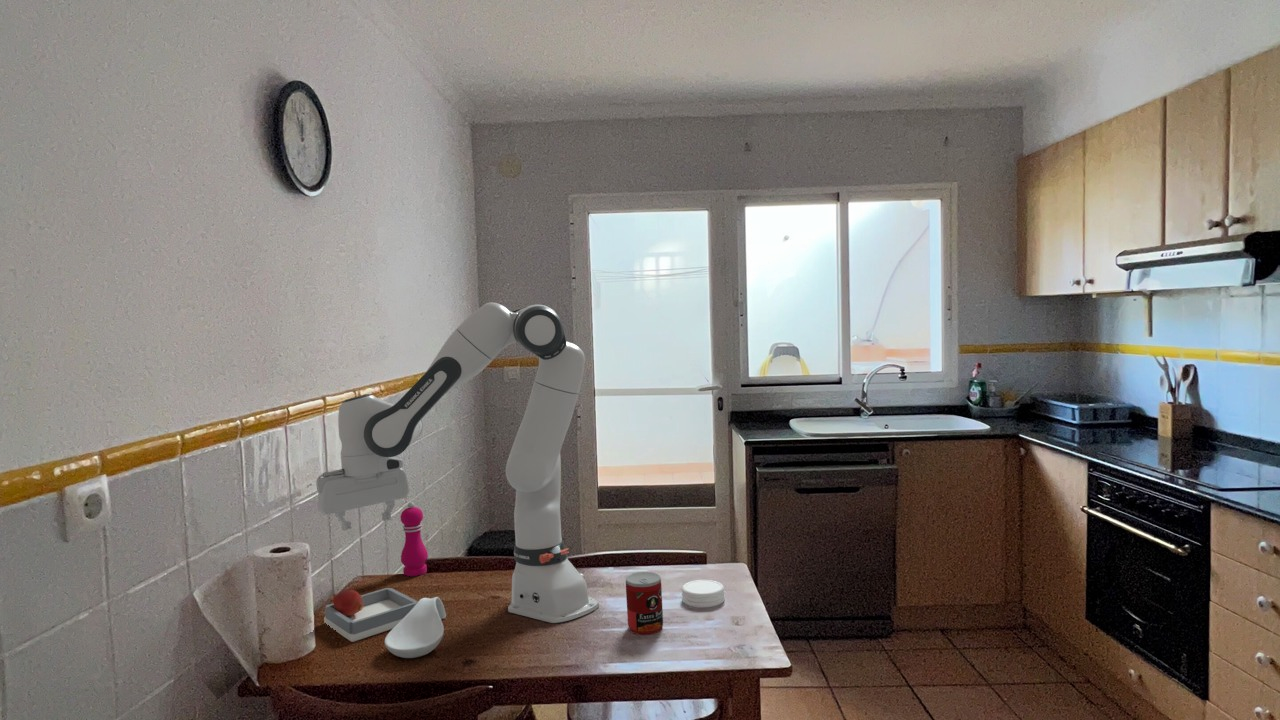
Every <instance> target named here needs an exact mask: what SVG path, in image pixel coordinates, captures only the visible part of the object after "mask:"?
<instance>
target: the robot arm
mask: <svg viewBox="0 0 1280 720" xmlns="http://www.w3.org/2000/svg"><path fill="white" fill-rule="evenodd" d="M512 344H519V345H520V346H522V347H523V348H524V349H526V350H527V351H528V352H530V353H532V354H534V355H535V356H536V357H538V368H537V371H536V375H535V377H534V378H535V379H534V381H533V383H532V384H533V385H532V388H531V392H530V395H529V398H528V400H527V401H528V402H527V405H526V408H525V411H524V414H523V417H522V420H521V422H520V425H519V428H518V430H517V433H516V435H515V437H514V441H513V443H512V447H511V450H510V451H509V456H508V459H507V460H506V464H505V476H506V479H507V482H508V484H509V485H510V486H511V487H512V488H513V489H514V490H515V503H514V511H513V517H514V536H515V544H514V546H513V555H514V561H515V568H514V570H513V573H512V575H511V576H512V577H511V603H510V604H509V605H508V606H507V611H508V613H511V614H515V615H519V616H522V617H523V616H524V617H527V618H532V619H535V620H539V621H542V622H547V623H551V624H558V623H563V622H567V621H571V620H574V619H578V618H580V617H583V616H586V615H588V614H590V613H592V612H593V611H595V610H597V609H598V608H599V606H600V602H599V601H598V600H596V598H593V597H591V596H590V595H589V591H588V585H587V584H588V583H587V582H586V579H585V575H584V573H581V572H579V571H578V570H577V569H576V567H575V566H574V565H573V563H572V562H571V561H570V560H569V559H568V554H569V553H570V551H569V550H570V549H569V547H566V545H565V542H564V541H563V539H562V524H561V523H562V522H561V491H562V490H561V489H562V488H561V487H562V486H561V485H562V484H561V482H562V470H561V467H562V463H561V462H562V461H561V450H562V447H563V444H564V441H565V438H566V435H567V433H568V430H569V427H570V425H571V421H572V419H573V416H574V411H575V409H576V404H577V401H578V397H579V395H580V391H581V387H582V384H583V377H584V372H585V362H586V356H585V355H586V354H585V353H584V351H583V350H582V349H581V347H580V346H578V345H577V344H574V343H573V342H570V341H567V339H566V334H565V330H564V326H563V321H562V320H561V318H560V316H559V315H558V314H557V313H556V311H555V310H554V309H552V308H551V307H549V306H547V305H544V304H531V305H528V306H524V307H523V308H519V309H516V310H512V311H511V310H509V309H508V308H507V307H506V306H504V305H502V304H500V303H498V302H492V301H491V302H487V303H484V304H483V305H482V306H480V307H479V308H477V309H476V310H475V311H474V312H472V313H471V314H470V315H469V316H468V317H466V318H465V320H464V321H462V322H461V324H459V326H457V328H456V329H455V330H454V331H453V332H452V333H451V334H450V335H449V337H448V338H447V339H446V341H445V342H444V344H443V345H442V346H441V348H440V350H439V352H438V353H437V354H436V356H435V358H434V360H433V361H432V362H431V363H430V365H429V367H428V368H427V370H426V371H425V372H424V373H423V375H422V376H421V377H420V378H419V379H418V380H417V382H415V383H414V384H413V385H412V386H411V388H410V389H408V390H407V391H406V393H405V394H404V395H403V396H402V397H401V398H400V399H399V400H398V401H397V402H396V403H394V404H393V403H390V402H388V401H384V400H382V399H380V398H378V397H377V396H375V395H373V394H370V393H366V394H362V395H358V396H355V397H350V398H348V399H345V400H344V401H343V402H341V403H340V405H339V408H338V419H337V421H338V424H337V425H338V437H339V440H340V443H341V451H340V463H341V468H340V469H335V470H332V471H325V472H322V474H320V475H318V477H317V478H316V482H315V483H316V490H317V492H318V493H317V509H318V511H319V512H320V513H322V514H323V515H331V514H335V517H336V518H337V520H338V521H339V522H340V523H341V525H340V526H341V530H342V531H349V530H352V526H351V525H352V521H349V520H346V518H345V517H344V516H346V511H350V510H354V509H361V508H364V507H368V506H373V505H377V504H382V503H385V505H386V508H385V510H384V512H382V513H381V516H382V518H381V520H382V522H387V521H391V520H392V514H391V513H392V511H393V510H394V508H395V505H396V501H397V500H401V499H405V498H407V497H408V496H409V494H410V487H409V479H408V476H407V473H406V470H404V469H403V467H404V461H403V459H401V458H398V457H397V456H399V455H401V454H402V453H404V452H405V451H406V450H407V448H408V447H410V446H411V445H412V444H414V443H415V442H416V441H417V440H418V439H419V437H420V436H421V434H422V433H423V432H422V431H423V421H422V419H423V418H424V417H425V416H426V415H427V414H428V413H429V412H430V411H431V410H432V409H433V408H434V407H435V406H436V404H437V403H438V402H439V401H440V400H441V399H442V398H444V396H446V394H448V393H449V392H450V391H452V390H453V389H455V388H458V387H459V386H461V385H463V384H465V383H467V382H469V381H471V380H472V379H473V378H475V377H476V376H478V374H480V373H481V372H482V371H483V370H485V369H486V368H487V367H488V366H489V365H491V363H492V362H493V360H494V359H495V358H496V357H497V356H498V355H499V354H500V353H501V352H502V350H504V349H505V348H506V347H508V346H509V345H512Z"/></svg>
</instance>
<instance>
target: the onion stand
mask: <svg viewBox="0 0 1280 720" xmlns="http://www.w3.org/2000/svg"><path fill="white" fill-rule="evenodd" d="M360 596H361V597H362V601H363V609H362V610H361V611H359V612H357V613H356V614H354V615H352V616H348V617H347V616H344V615H343V614H341V613H340V612H338V611H336V610H335V608H334V604H333V603H331V604H326V605H325V606H324V611H325V612H324V613H325V616H324V617H323V621H324V624H325V623H326V624H327V626H328V625H329V626H330V627H329V626H328V627H329V628H331V629H332V628H333V629H332V630H333V631H335V630H336V631H335V632H336V633H338V634H339V635H341V636H342V637H343V638H345V639H347V640H348V641H350V642H351V643H353V642H357V641H359V640H363V639H366V638H369V637H371V636H374V635H378V634H380V633H384V632H387V631H391V630H392V629H393V628H394V627H395V626H396V625H397V624H398V623H399V622H400V621H401V620H402V619H403V618H404V617H405V616H406V615H407V614H408V613H409V612H410V611H411V610H412V608H413V607H414V606H415V605H416V604H417V603H418V601H419V600H416V599H414V598H412V597H410V596H408V595H407V594H405V593H402V592H401V591H398V590H396V589H394V588H392V587H390V588H389V587H385V588H382V589H378V590H375V591H372V592H368V593H364V594H360ZM326 624H325V625H326Z"/></svg>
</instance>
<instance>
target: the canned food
mask: <svg viewBox="0 0 1280 720" xmlns="http://www.w3.org/2000/svg"><path fill="white" fill-rule="evenodd" d="M661 578H662V577H661V575H660V574H659V573H656V572H651V571H638V572H634V573H631V574H629V575H627V576H626V577H625V595H626V614H627V615H626V616H627V626H628V629H629V631H630V632H631V633H632V634H633V633H634V634H635V635H641V636H646V635H653V634H654V635H655V634H657V633H658V632H661V631H662V629H663V626H664V615H663V613H664V611H663V593H662V592H663V591H662V579H661Z"/></svg>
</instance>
